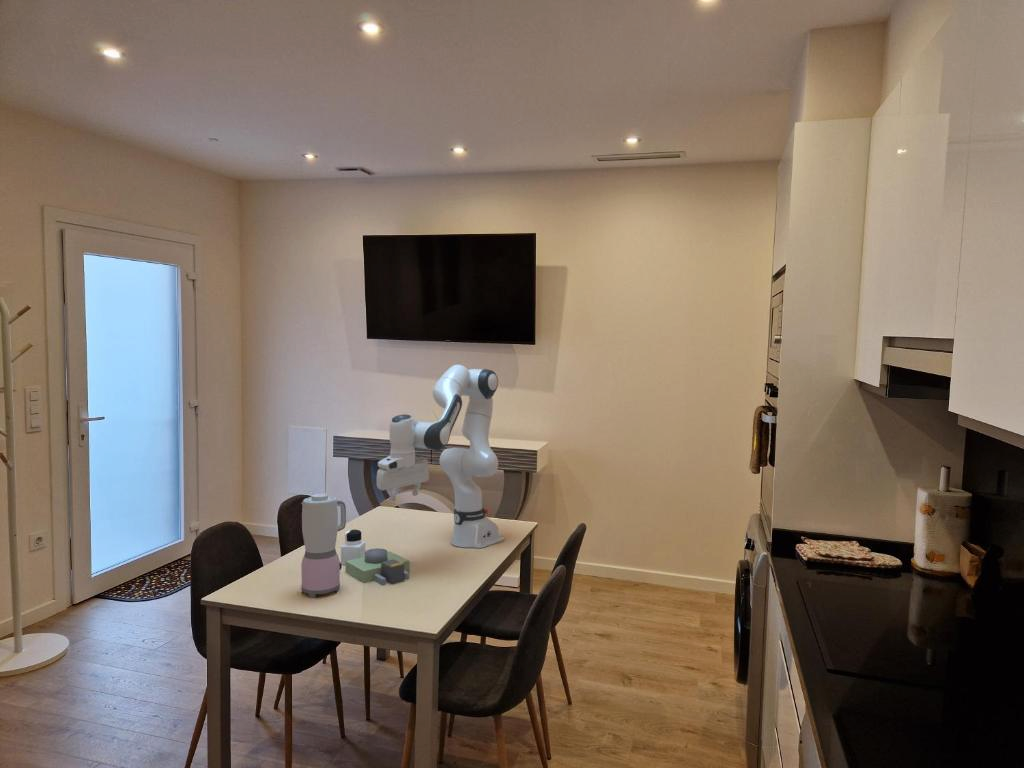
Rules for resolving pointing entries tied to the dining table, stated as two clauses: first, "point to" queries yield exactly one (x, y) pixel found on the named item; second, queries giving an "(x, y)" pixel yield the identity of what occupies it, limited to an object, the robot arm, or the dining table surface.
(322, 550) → the blender
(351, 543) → the medicine bottle
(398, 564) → the grey block yellow strip
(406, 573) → the green piece
